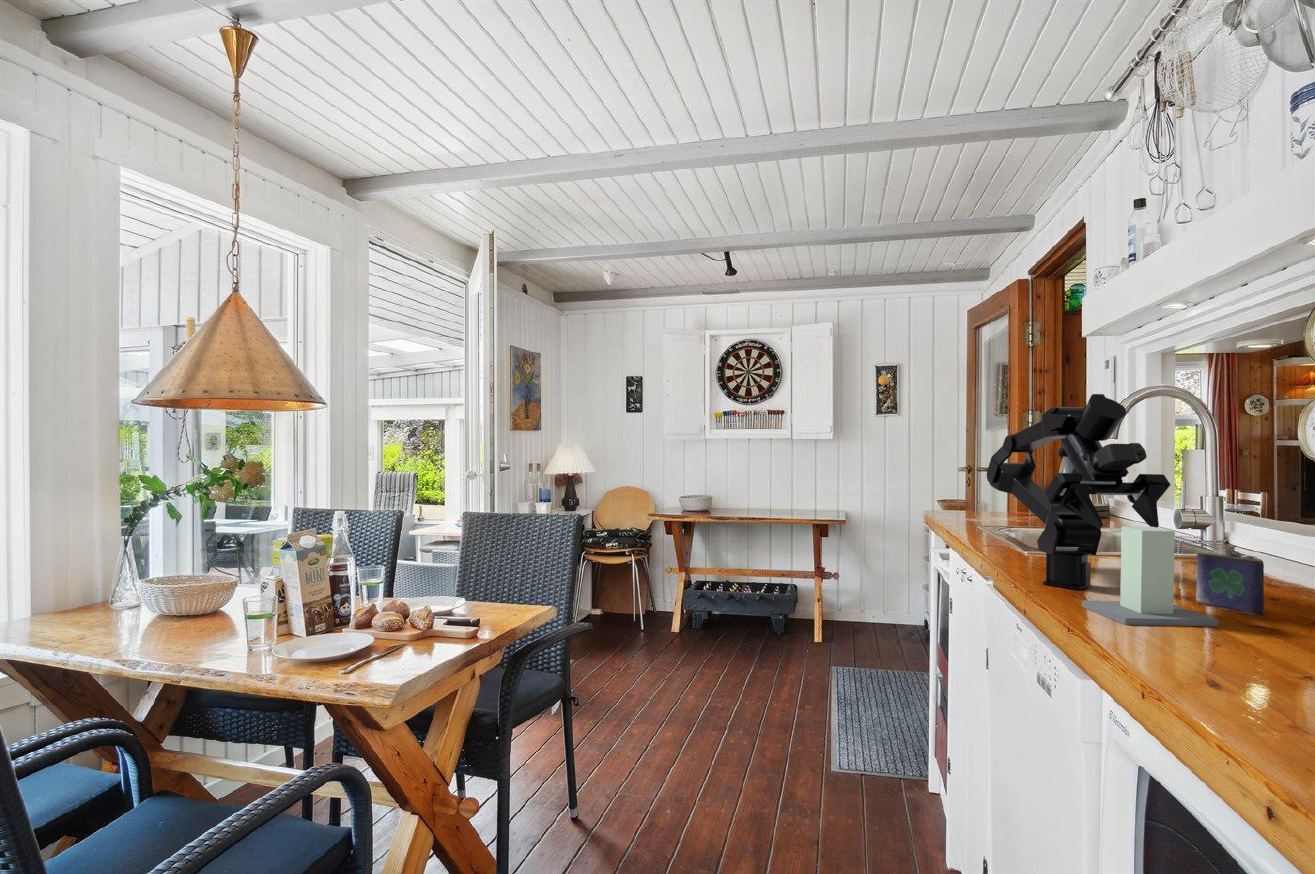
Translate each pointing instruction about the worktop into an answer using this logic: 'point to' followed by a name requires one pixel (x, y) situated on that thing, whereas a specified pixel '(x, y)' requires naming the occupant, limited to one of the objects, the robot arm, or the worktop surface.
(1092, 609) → the slate mat
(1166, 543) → the sage block
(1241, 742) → the worktop surface
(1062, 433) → the robot arm
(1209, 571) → the clover slab
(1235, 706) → the worktop surface
